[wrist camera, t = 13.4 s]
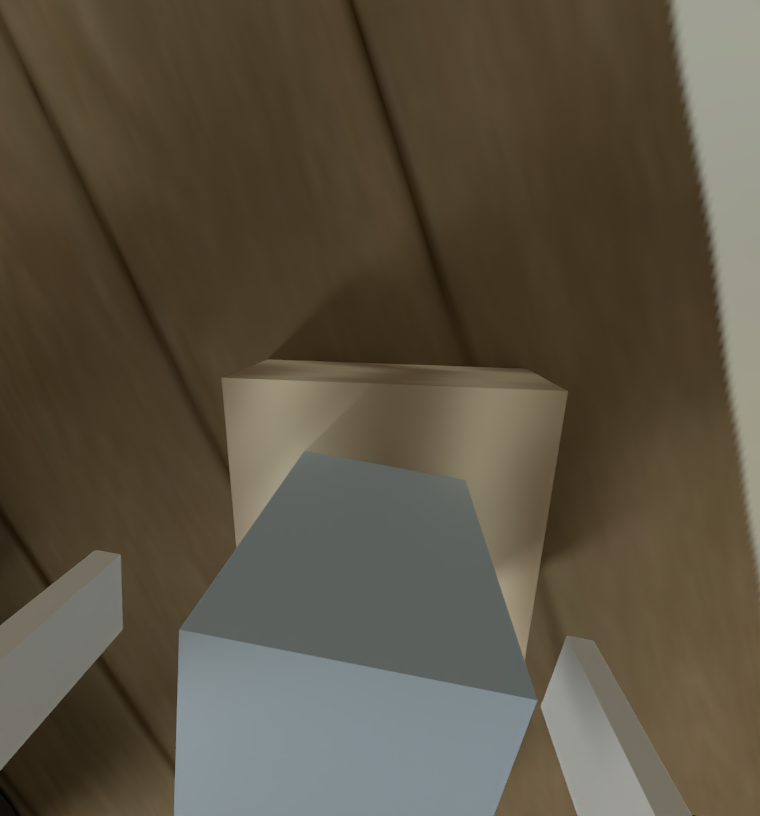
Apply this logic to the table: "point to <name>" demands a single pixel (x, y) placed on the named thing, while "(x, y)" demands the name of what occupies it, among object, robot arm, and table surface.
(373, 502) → the slate blue block
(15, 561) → the table surface
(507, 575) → the birch block
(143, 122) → the table surface
